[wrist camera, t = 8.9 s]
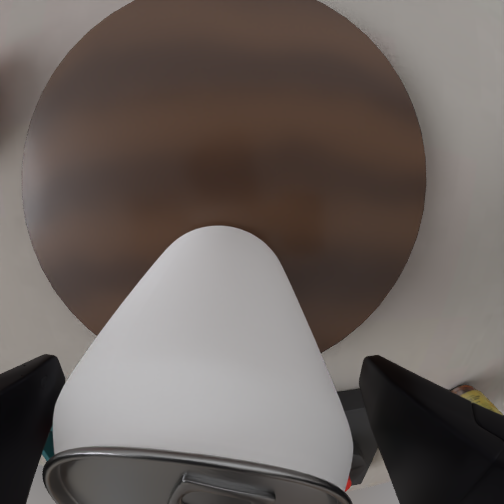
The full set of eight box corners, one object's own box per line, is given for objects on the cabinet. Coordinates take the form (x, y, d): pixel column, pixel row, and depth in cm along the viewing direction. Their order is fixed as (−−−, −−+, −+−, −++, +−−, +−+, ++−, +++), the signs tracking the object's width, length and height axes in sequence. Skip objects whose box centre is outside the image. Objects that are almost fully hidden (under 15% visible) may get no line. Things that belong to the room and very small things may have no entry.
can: (139, 313, 15) (34, 512, 4) (185, 200, 14) (5, 333, 2) (249, 360, 16) (267, 575, 5) (308, 258, 15) (451, 463, 3)
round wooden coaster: (384, 343, 19) (399, 362, 17) (74, 347, 18) (59, 366, 16) (392, 19, 14) (410, 4, 11) (53, 33, 13) (34, 21, 10)
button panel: (355, 468, 24) (365, 497, 20) (256, 480, 23) (259, 513, 19) (385, 384, 21) (405, 417, 17) (256, 398, 20) (259, 439, 16)
